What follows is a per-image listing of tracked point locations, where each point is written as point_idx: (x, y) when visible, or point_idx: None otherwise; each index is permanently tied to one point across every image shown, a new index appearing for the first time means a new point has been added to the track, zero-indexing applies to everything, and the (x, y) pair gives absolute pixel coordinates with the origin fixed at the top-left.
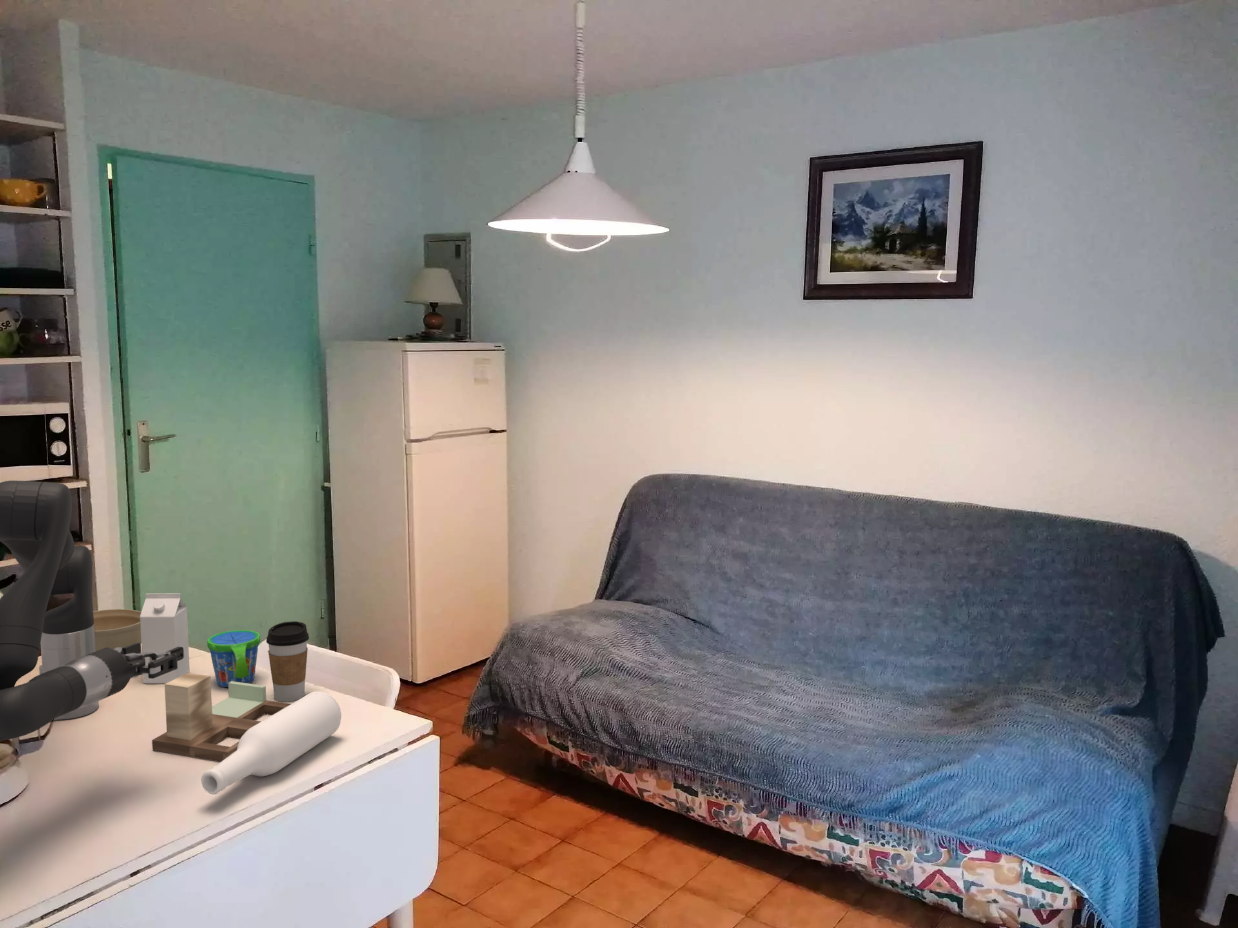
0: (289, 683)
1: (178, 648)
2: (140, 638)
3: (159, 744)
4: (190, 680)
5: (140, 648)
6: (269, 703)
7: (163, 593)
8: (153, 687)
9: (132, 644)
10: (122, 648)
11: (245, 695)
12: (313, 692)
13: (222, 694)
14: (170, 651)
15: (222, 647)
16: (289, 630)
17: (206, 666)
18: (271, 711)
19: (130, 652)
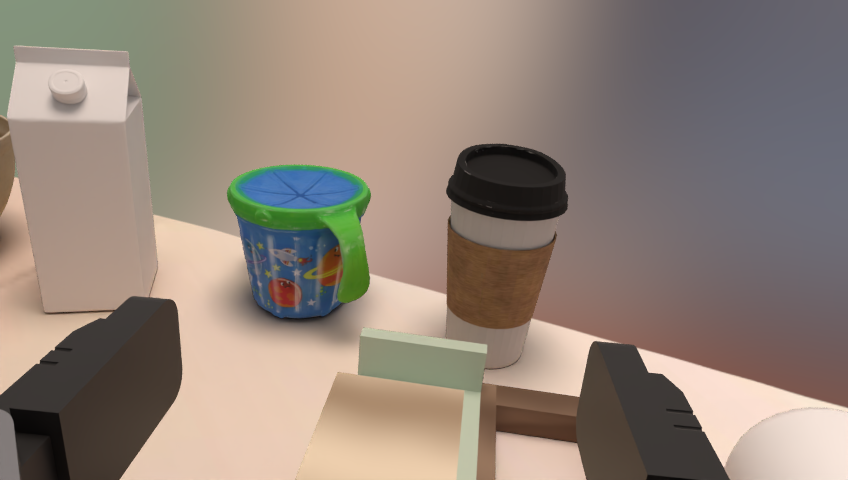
0: (517, 323)
1: (649, 377)
2: (7, 183)
3: None
4: (404, 438)
5: (176, 342)
6: (505, 398)
7: (73, 49)
8: (79, 326)
9: (111, 328)
10: (15, 416)
11: (419, 372)
12: (821, 417)
13: (298, 346)
14: (685, 457)
15: (294, 218)
16: (508, 170)
17: (191, 250)
18: (518, 424)
19: (111, 424)
